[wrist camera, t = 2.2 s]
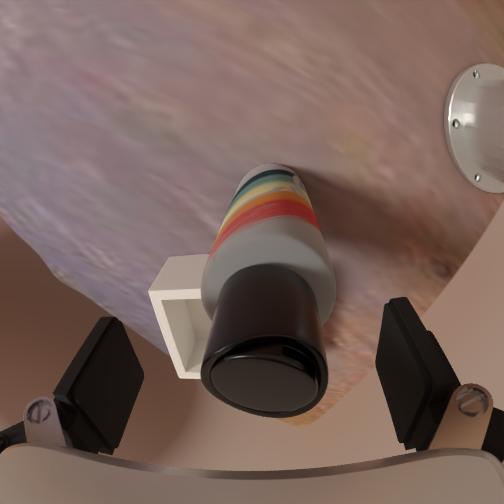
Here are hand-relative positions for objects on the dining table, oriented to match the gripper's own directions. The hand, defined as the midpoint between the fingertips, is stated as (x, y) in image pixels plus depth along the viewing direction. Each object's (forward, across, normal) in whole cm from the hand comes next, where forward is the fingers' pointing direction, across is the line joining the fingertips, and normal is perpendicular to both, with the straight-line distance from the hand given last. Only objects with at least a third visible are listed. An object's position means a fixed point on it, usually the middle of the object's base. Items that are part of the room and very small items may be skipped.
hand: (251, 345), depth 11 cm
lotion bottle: (+18, -1, 0) cm, 18 cm away
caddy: (+18, +4, +10) cm, 21 cm away
